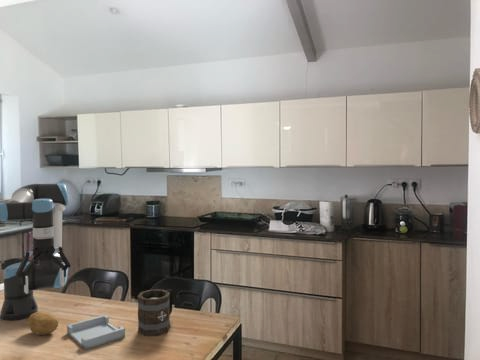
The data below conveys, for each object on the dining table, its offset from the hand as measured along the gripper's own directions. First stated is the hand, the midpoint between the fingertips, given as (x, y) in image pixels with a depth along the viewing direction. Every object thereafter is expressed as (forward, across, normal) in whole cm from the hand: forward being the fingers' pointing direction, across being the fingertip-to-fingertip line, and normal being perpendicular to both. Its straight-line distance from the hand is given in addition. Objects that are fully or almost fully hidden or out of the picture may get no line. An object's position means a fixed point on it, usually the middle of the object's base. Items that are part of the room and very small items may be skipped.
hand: (44, 288), depth 160 cm
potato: (+19, -1, 0) cm, 19 cm away
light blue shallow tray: (+18, +14, -16) cm, 28 cm away
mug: (+19, +37, -27) cm, 49 cm away
